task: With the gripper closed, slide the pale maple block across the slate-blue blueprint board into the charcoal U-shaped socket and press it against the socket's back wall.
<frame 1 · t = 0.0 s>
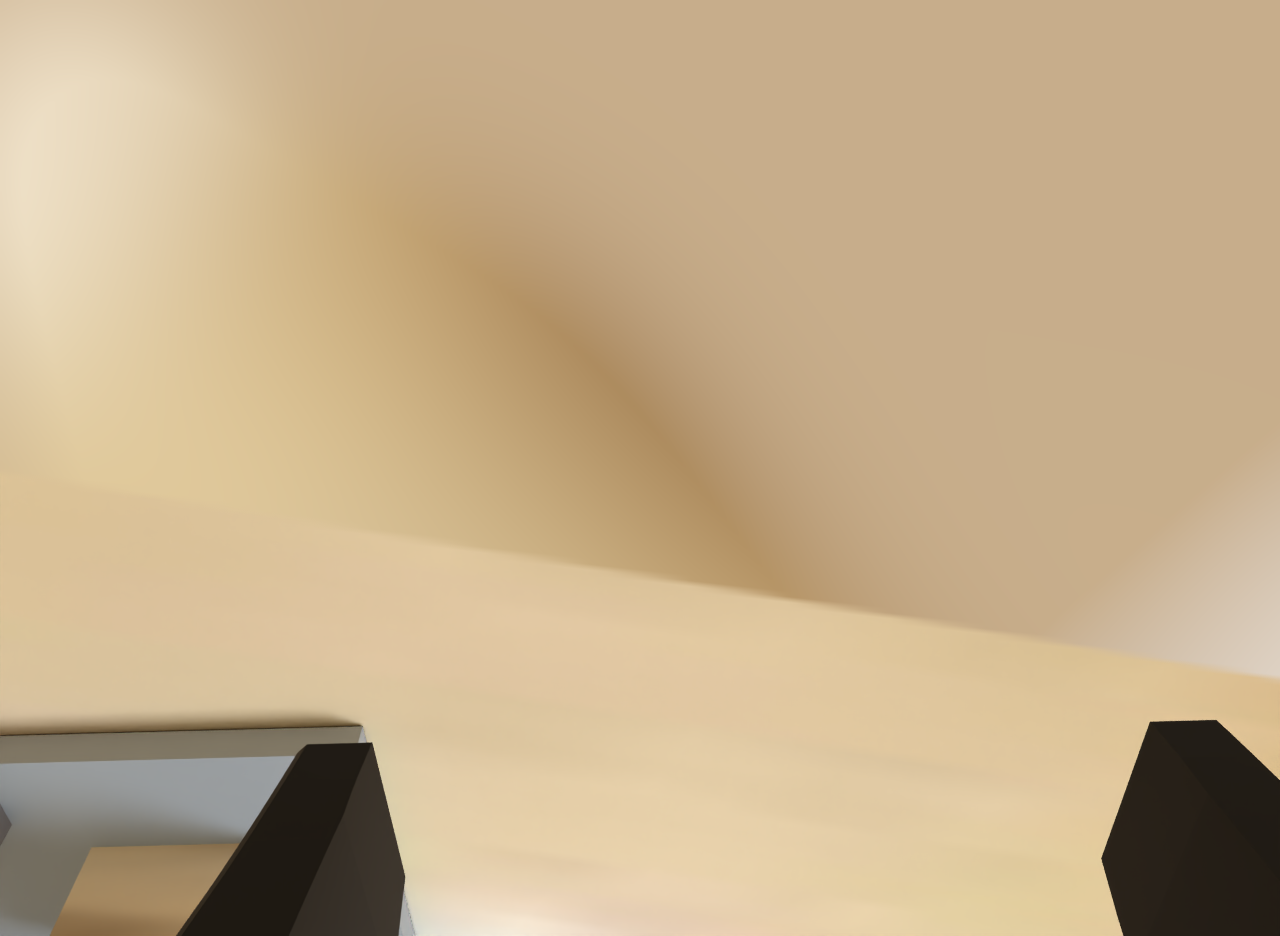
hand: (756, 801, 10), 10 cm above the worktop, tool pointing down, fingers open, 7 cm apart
maple block: (208, 895, 27), point 1 cm above the worktop, touching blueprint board
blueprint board: (99, 869, 27), on the worktop
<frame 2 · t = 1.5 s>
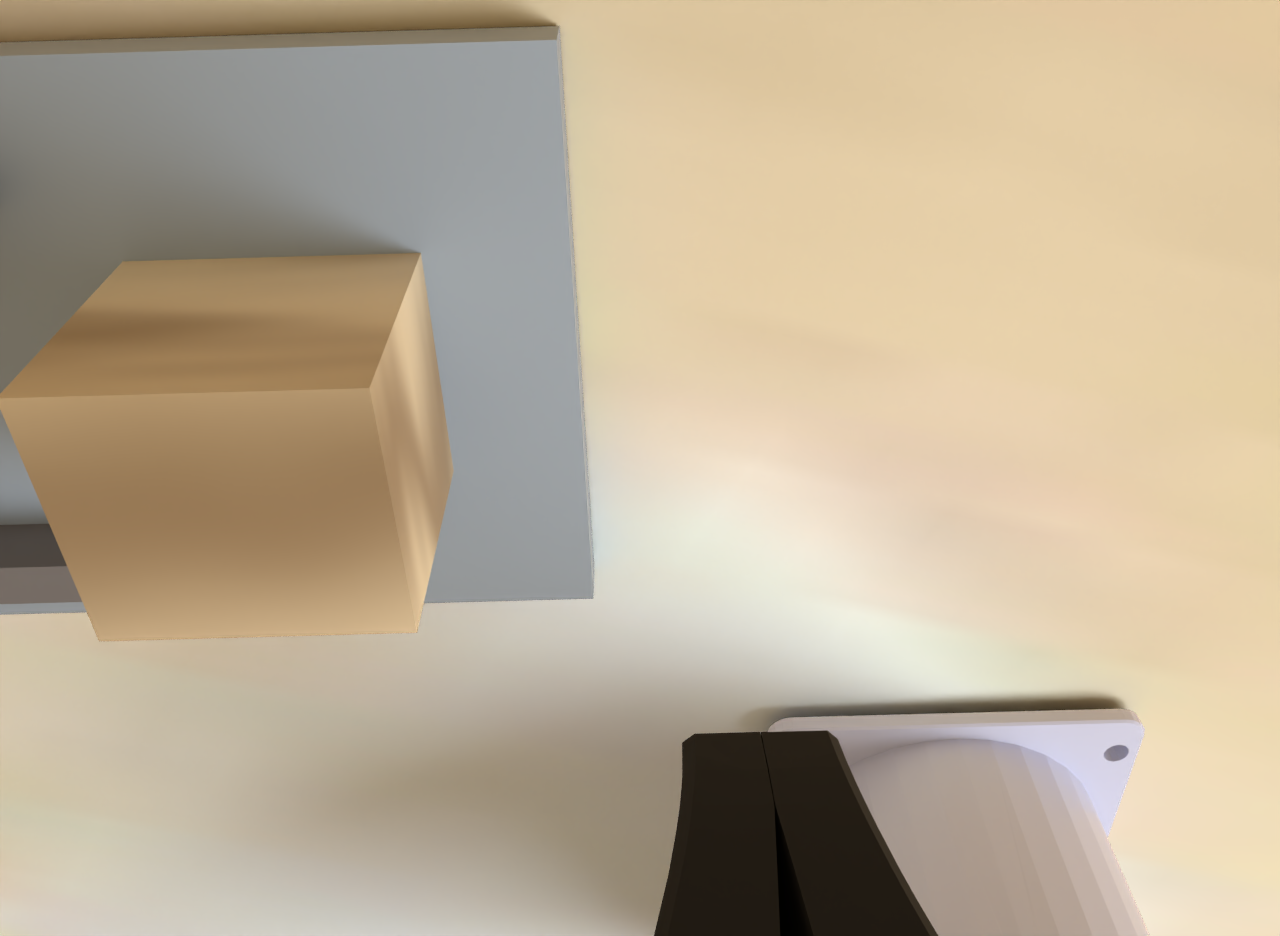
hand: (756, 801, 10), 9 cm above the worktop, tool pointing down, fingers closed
maple block: (299, 372, 17), point 1 cm above the worktop, touching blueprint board
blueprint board: (131, 354, 18), on the worktop
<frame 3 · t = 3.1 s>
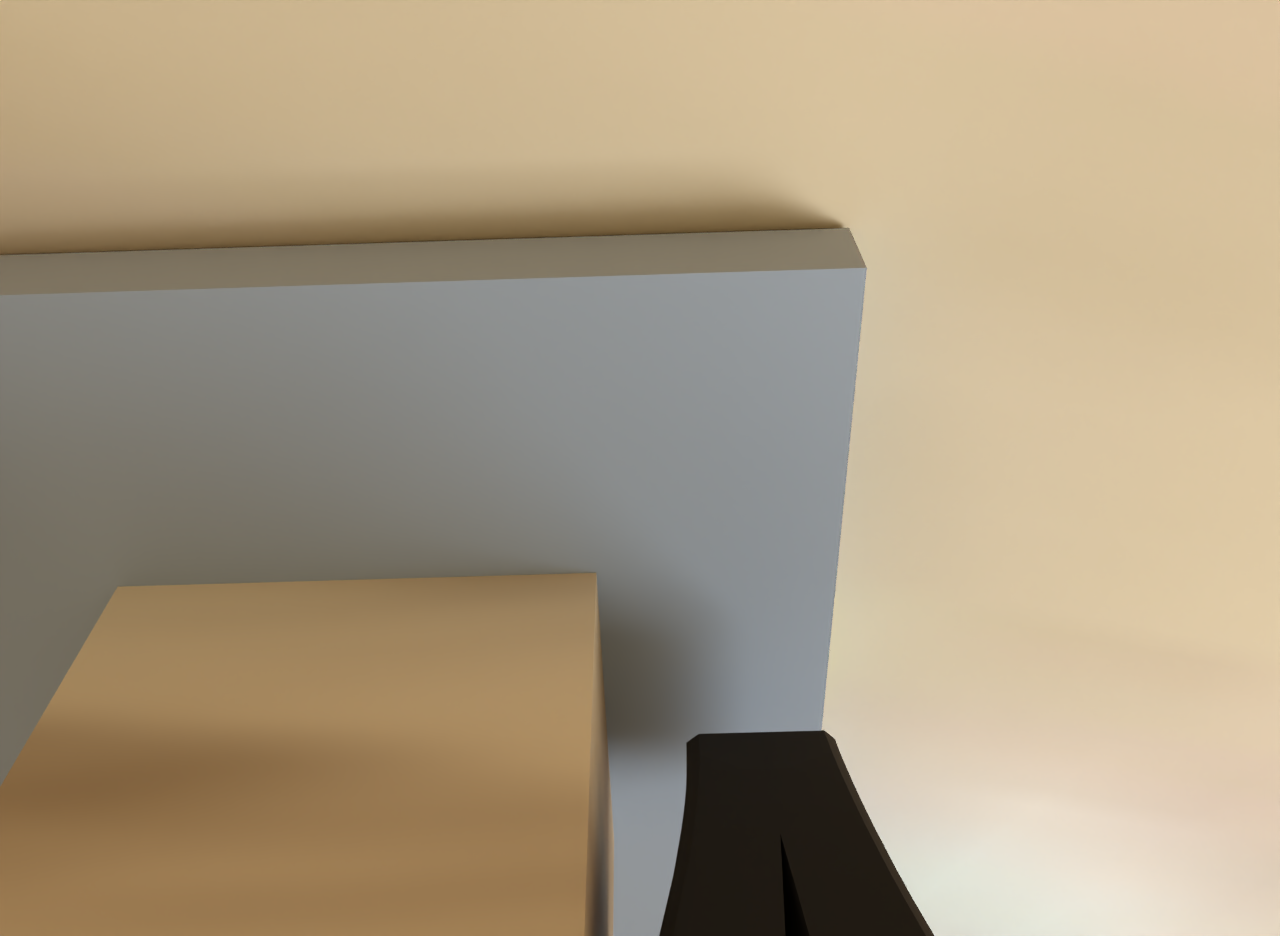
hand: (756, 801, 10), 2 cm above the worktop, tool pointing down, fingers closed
maple block: (390, 725, 11), point 1 cm above the worktop, touching gripper
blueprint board: (133, 678, 12), on the worktop
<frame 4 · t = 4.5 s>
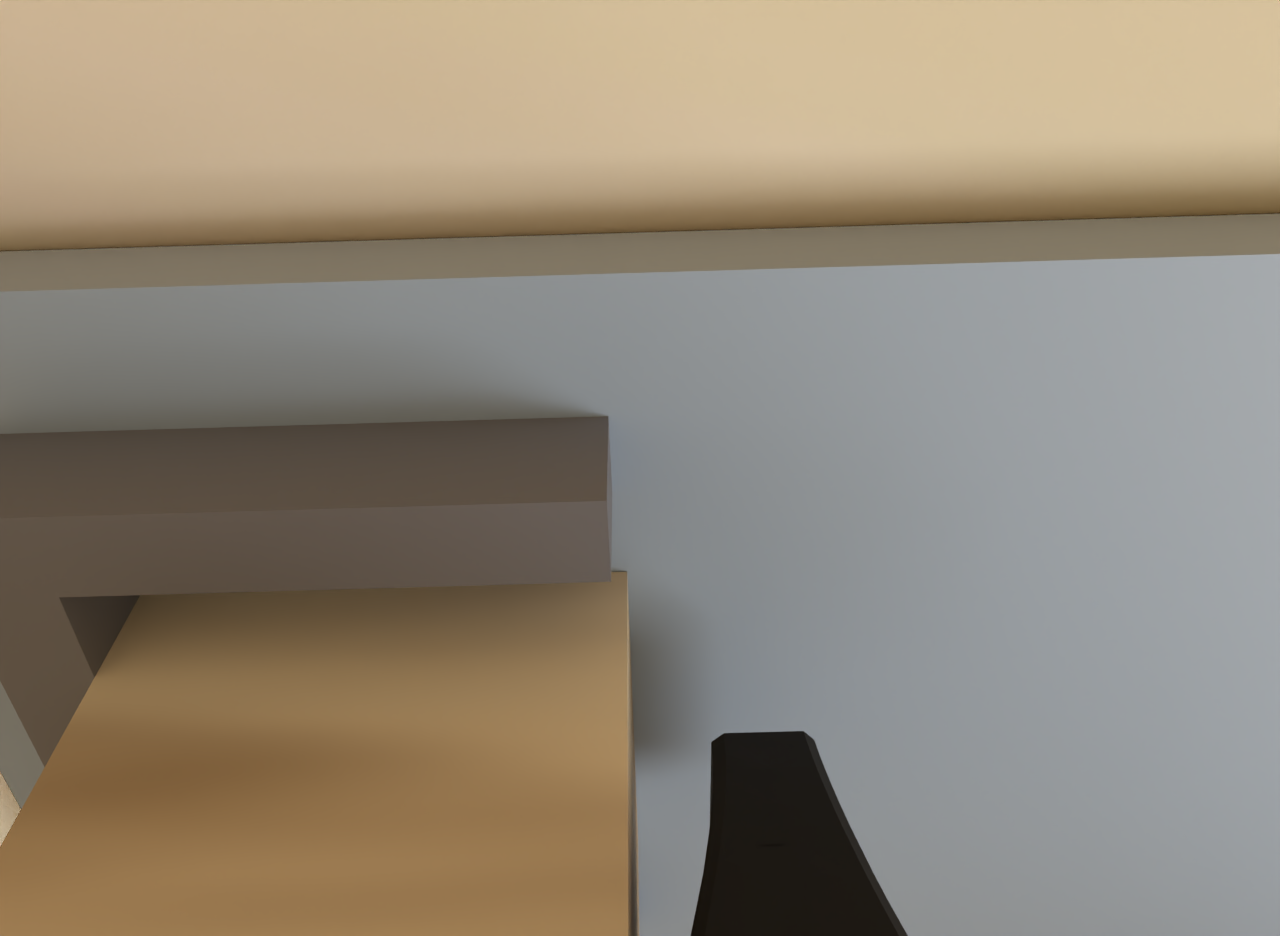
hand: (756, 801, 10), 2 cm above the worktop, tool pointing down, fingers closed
maple block: (417, 724, 11), point 1 cm above the worktop, touching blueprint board, gripper
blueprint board: (696, 660, 12), on the worktop
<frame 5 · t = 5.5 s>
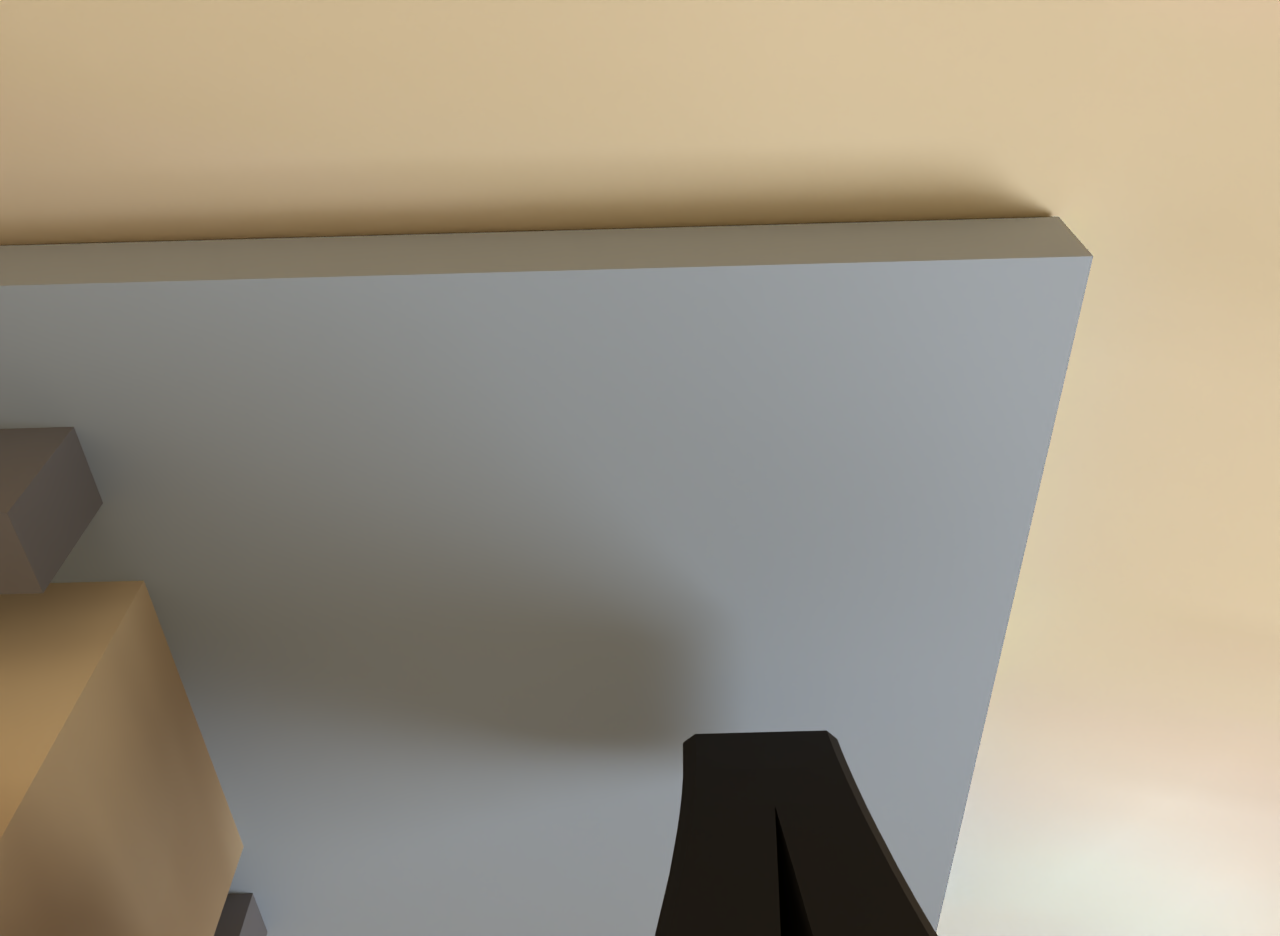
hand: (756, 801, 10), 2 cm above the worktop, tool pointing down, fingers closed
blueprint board: (285, 669, 12), on the worktop
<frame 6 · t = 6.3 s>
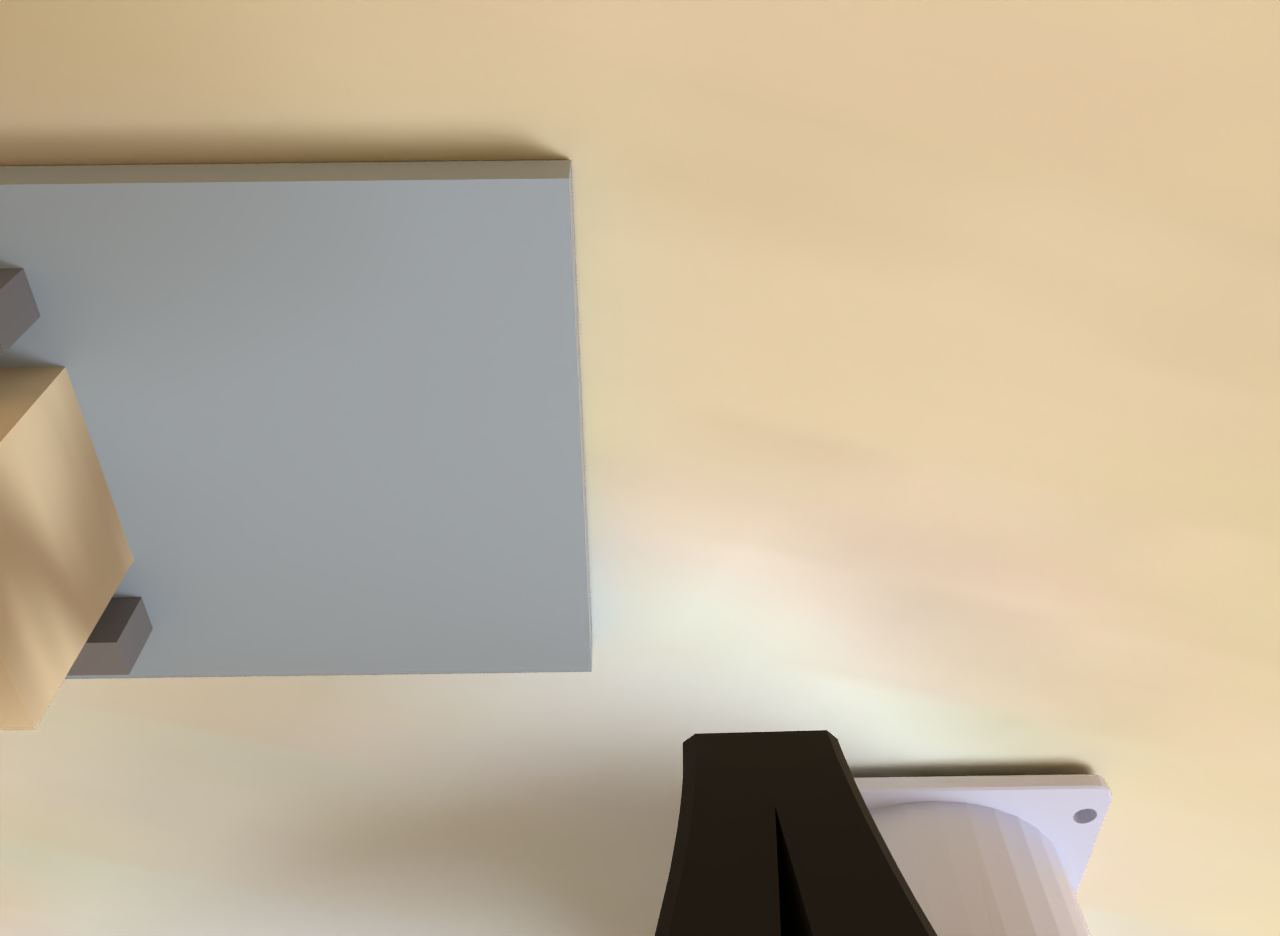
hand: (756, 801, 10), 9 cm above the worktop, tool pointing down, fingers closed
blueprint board: (159, 442, 19), on the worktop
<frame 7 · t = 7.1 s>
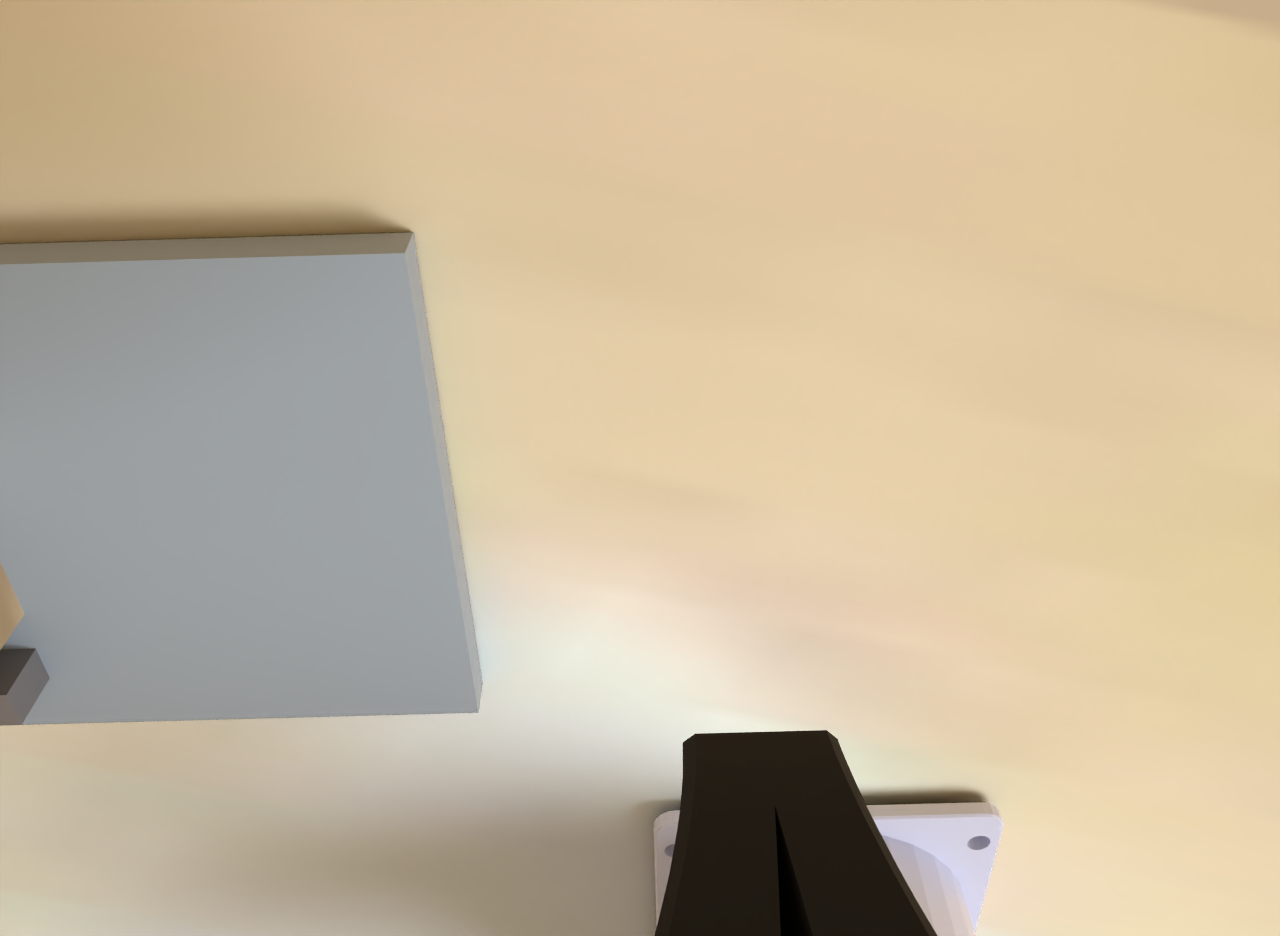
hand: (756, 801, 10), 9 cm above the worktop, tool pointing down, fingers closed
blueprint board: (44, 501, 20), on the worktop
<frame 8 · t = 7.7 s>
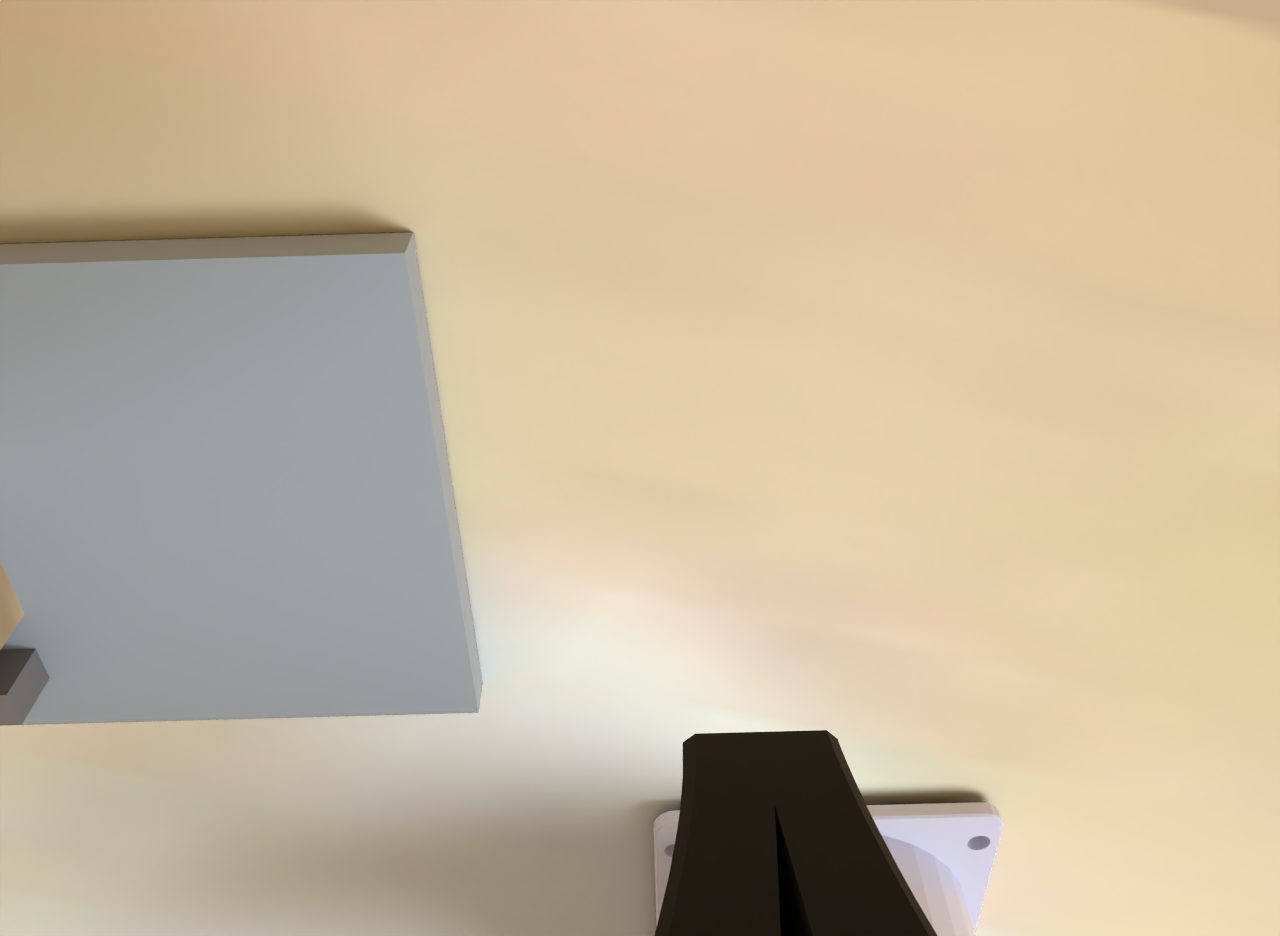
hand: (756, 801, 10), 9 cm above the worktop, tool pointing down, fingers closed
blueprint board: (44, 501, 20), on the worktop
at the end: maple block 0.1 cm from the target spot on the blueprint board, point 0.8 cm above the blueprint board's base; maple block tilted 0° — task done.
